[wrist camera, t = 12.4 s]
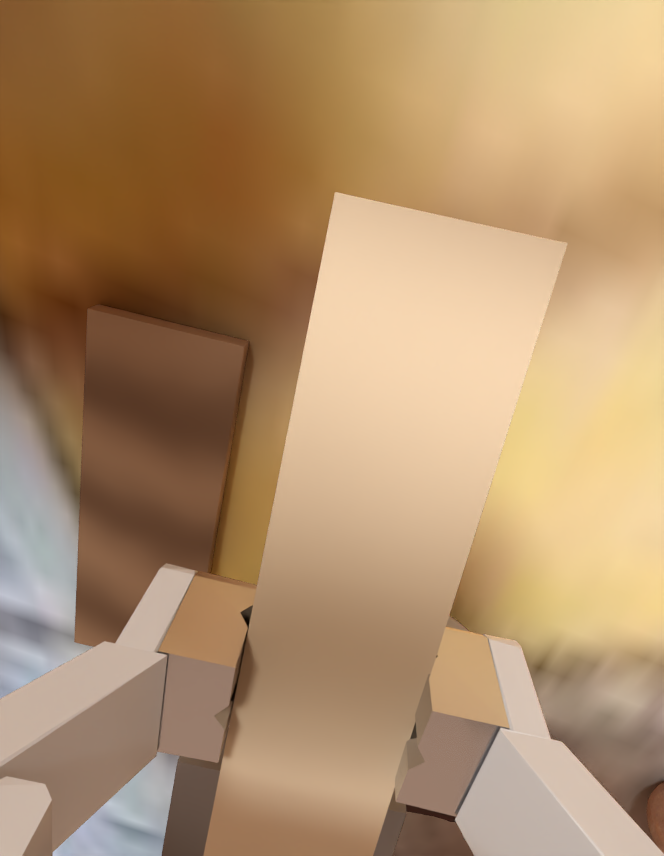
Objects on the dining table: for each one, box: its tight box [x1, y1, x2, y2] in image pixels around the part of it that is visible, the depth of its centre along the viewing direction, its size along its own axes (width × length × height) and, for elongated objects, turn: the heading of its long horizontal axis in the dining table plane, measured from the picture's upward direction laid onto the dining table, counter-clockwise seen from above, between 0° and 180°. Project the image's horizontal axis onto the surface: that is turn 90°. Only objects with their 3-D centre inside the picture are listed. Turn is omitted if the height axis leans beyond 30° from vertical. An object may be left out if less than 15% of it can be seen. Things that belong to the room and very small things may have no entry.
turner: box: [162, 192, 568, 856], centre depth 9 cm, size 16×4×3 cm, turn 168°
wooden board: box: [75, 304, 249, 647], centre depth 28 cm, size 20×7×1 cm, turn 167°
